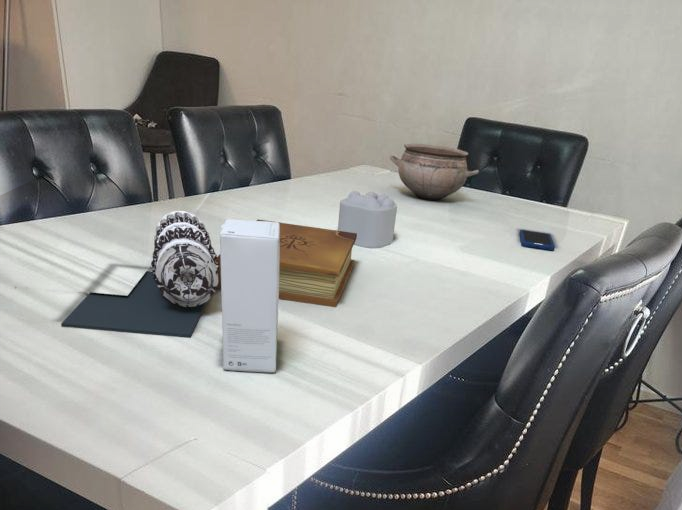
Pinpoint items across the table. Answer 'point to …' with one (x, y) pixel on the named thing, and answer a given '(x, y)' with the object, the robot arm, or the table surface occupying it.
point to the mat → (135, 312)
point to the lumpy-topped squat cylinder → (368, 218)
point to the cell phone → (536, 240)
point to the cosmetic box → (250, 294)
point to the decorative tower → (184, 260)
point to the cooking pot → (432, 170)
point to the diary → (312, 264)
